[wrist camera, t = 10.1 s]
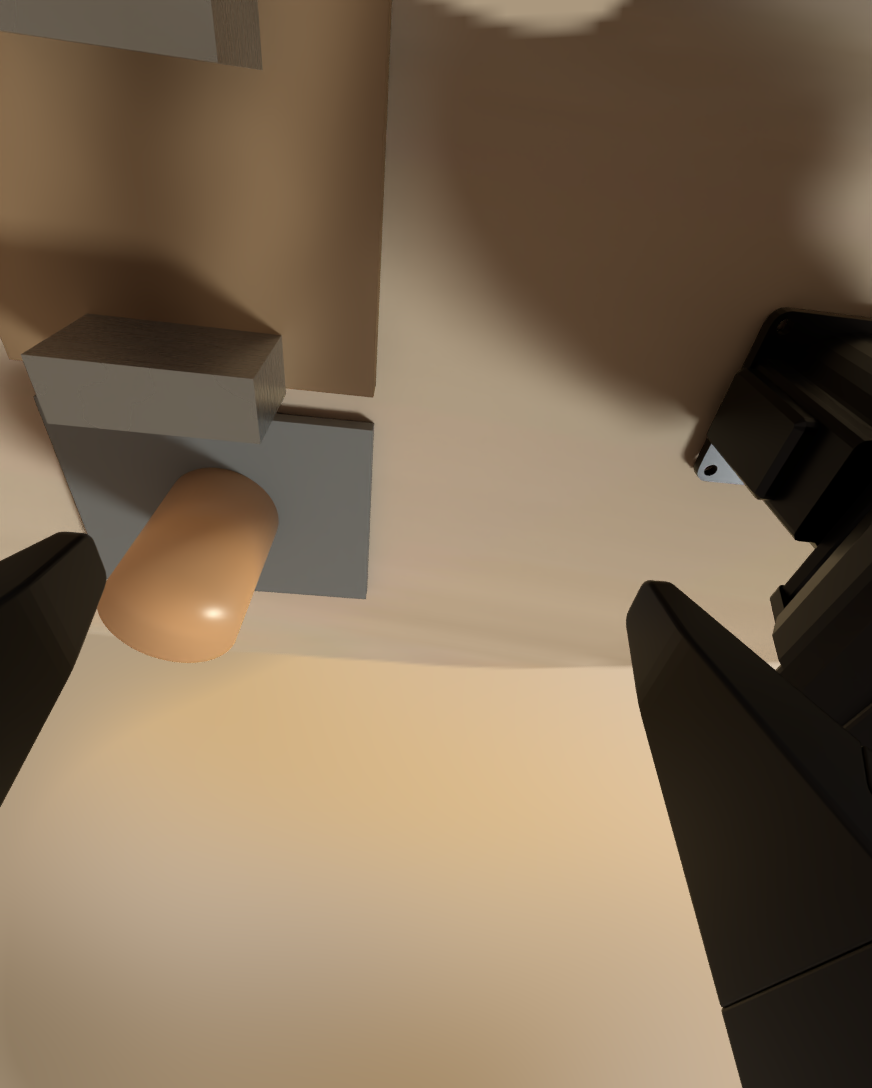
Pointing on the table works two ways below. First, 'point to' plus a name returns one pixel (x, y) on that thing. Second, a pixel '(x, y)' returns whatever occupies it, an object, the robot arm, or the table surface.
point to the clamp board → (203, 188)
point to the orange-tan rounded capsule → (192, 568)
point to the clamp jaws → (143, 345)
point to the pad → (275, 465)
